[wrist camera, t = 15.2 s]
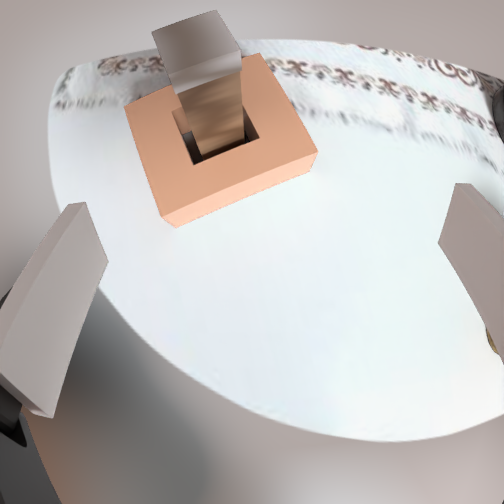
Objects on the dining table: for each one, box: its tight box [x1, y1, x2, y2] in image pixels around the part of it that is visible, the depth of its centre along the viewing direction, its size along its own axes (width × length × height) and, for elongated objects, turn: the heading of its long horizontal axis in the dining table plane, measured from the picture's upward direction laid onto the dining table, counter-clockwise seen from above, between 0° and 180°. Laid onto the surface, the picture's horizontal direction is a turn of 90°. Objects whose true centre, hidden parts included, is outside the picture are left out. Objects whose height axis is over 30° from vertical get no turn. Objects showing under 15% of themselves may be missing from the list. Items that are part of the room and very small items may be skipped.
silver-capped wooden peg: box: [152, 10, 245, 161], centre depth 23 cm, size 4×4×16 cm
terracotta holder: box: [124, 53, 318, 228], centre depth 29 cm, size 14×12×5 cm
